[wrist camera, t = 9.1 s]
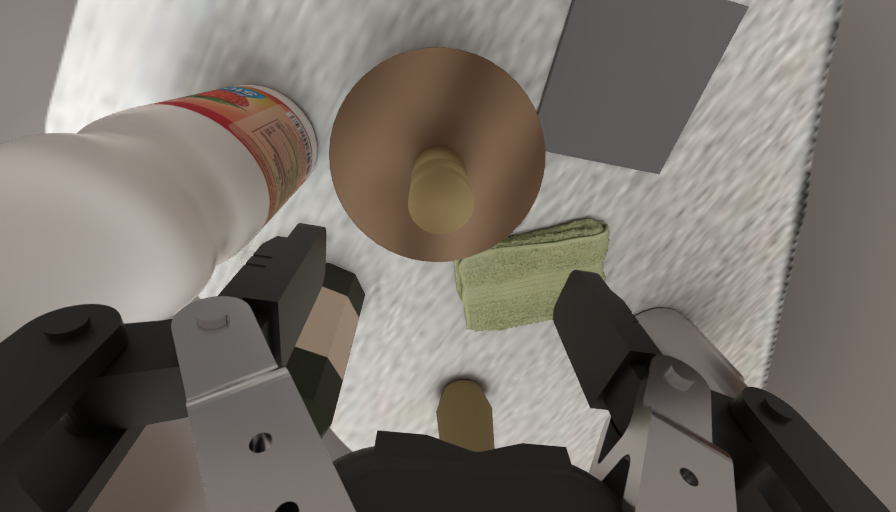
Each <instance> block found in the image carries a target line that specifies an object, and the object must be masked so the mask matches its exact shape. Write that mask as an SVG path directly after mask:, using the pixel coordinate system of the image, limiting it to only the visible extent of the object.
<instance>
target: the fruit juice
mask: <svg viewBox="0 0 896 512" xmlns="http://www.w3.org/2000/svg"><path fill="white" fill-rule="evenodd" d="M316 158H317V142H316V137H315V134H314V131H313V128H312V126H311V124H310V122H309V120H308V119H307V117H306V116H305V114H304V113H303V112H302V111H301V109H300V108H299V107H298V106H297V105H296V104H295V103H293V102H292V101H291V100H290V99H288V98H287V97H286V96H284V95H282V94H280V93H279V92H277V91H275V90H272V89H270V88H267V87H263V86H258V85H236V86H232V87H227V88H222V89H218V90H213V91H209V92H204V93H200V94H195V95H191V96H186V97H182V98H177V99H173V100H168V101H164V102H159V103H155V104H150V105H144V106H138V107H134V108H130V109H126V110H123V111H120V112H117V113H114V114H111V115H108V116H105V117H103V118H100V119H98V120H96V121H94V122H92V123H90V124H88V125H87V126H85V127H84V128H83V129H81V130H80V131H79V132H78V133H77V134H74V133H48V134H37V135H29V136H23V137H19V138H15V139H12V140H8V141H5V142H2V143H0V343H1V342H2V341H3V340H5V339H6V338H7V337H9V336H10V335H11V334H13V333H14V332H15V331H17V330H18V329H19V328H21V327H22V326H23V325H25V324H26V323H28V322H29V321H31V320H33V319H35V318H37V317H39V316H41V315H43V314H46V313H48V312H51V311H54V310H57V309H61V308H64V307H69V306H74V305H81V304H101V305H107V306H110V307H113V308H115V309H116V310H117V311H118V312H119V313H120V315H121V318H122V320H123V323H124V324H125V323H136V322H148V321H159V320H166V319H168V318H169V317H171V316H173V315H174V314H176V313H178V312H179V311H180V310H181V309H182V308H184V307H186V306H187V305H188V304H189V303H190V302H191V301H192V300H193V299H194V298H195V297H196V296H198V295H199V294H200V292H201V291H202V290H203V289H204V287H205V286H206V284H207V283H208V281H209V280H210V278H211V276H212V274H213V272H214V269H215V267H216V265H219V264H221V263H223V262H225V261H227V260H228V259H230V258H231V257H233V256H234V255H236V254H237V253H238V252H239V251H240V250H242V249H243V248H244V247H245V246H246V245H247V244H248V243H249V242H251V241H252V240H253V239H254V238H255V236H256V235H257V234H258V233H259V232H260V231H261V229H262V228H263V227H264V226H265V225H266V224H267V223H268V221H269V220H270V219H271V218H272V217H273V216H274V215H275V214H276V213H277V212H278V210H279V209H280V208H281V207H282V206H283V205H284V204H285V203H286V202H287V201H288V199H289V198H290V197H291V196H292V195H293V194H294V193H295V192H296V191H297V189H298V188H299V187H300V186H301V185H302V184H303V183H304V182H305V181H306V179H307V178H308V177H309V176H310V174H311V172H312V170H313V168H314V165H315V162H316Z"/></svg>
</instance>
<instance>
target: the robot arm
mask: <svg viewBox="0 0 896 512" xmlns="http://www.w3.org/2000/svg"><path fill="white" fill-rule="evenodd" d="M325 263H326V228H325V227H321V226H315V225H309V224H303V223H299V224H297V226H296V227H295V228H294V230H293V231H292V232H291V234H290V235H289V236H288V237H287V238H286V237H280V236H277V237H275V238H273V239H271V240H269V241H267V242H265V243H263V244H262V245H261V246H260V247H259V248H258V249H257V251H256V252H255V253H254V254H253V256H251V258H250V259H249V260H248V261H247V262H246V265H244V266H243V267H242V268H241V269H240V270H239V272H238V273H237V274H236V275H235V276H234V277H233V279H232V280H231V281H230V282H229V283H228V284H227V286H226V287H225V288H224V289H223V290H222V291H221V293H220V294H219V295H218V296H216V297H209V298H205V299H201V300H198V301H195V302H193V303H191V304H189V305H187V306H186V307H184V308H182V309H181V310H180V311H179V312H178V313H177V314H176V315H175V316H174V318H173V319H168V320H159V321H148V322H136V323H125V324H124V323H123V320H122V318H121V315H120V313H119V312H118V311H117V310H116V309H115V308H113V307H110V306H107V305H101V304H81V305H74V306H69V307H64V308H61V309H57V310H54V311H51V312H48V313H46V314H43V315H41V316H39V317H37V318H35V319H33V320H31V321H29V322H28V323H26V324H25V325H23V326H22V327H21V328H19V329H18V330H17V331H15V332H14V333H13V334H11V335H10V336H9V337H7V338H6V339H5V340H3V341H2V342H1V343H0V512H88V510H89V509H90V507H91V506H92V504H93V503H94V501H95V500H96V498H97V497H98V495H99V494H100V492H101V491H102V490H103V488H104V486H105V485H106V484H107V482H108V481H109V479H110V478H111V476H112V475H113V473H114V472H115V470H116V469H117V467H118V466H119V464H120V463H121V461H122V460H123V458H124V457H125V456H126V454H127V453H128V451H129V450H130V448H131V447H132V445H133V444H134V442H135V441H136V440H137V438H138V437H139V435H140V434H141V432H142V430H143V429H144V428H145V426H146V425H148V424H154V423H158V422H164V421H170V420H175V419H180V418H185V417H189V421H190V426H191V431H192V435H193V439H194V445H195V449H196V454H197V459H198V463H199V468H200V473H201V477H202V481H203V487H204V491H205V496H206V501H207V505H208V510H209V512H890V511H889V510H888V509H887V507H886V506H885V505H884V504H883V503H882V502H881V501H880V500H879V499H878V498H877V497H876V496H875V495H874V494H873V492H872V491H871V490H870V489H869V488H868V487H867V486H866V485H865V484H864V483H863V482H862V481H861V480H860V479H859V477H858V476H857V475H856V474H855V473H854V472H853V471H852V470H851V469H850V468H849V467H848V466H847V465H846V464H845V462H844V461H843V460H842V459H841V458H840V457H839V456H838V455H837V454H836V453H835V452H834V451H833V450H832V449H831V448H830V446H828V444H827V443H826V442H825V441H824V440H823V439H822V438H821V437H820V436H819V435H818V434H817V432H816V431H815V430H814V429H813V428H812V427H811V426H810V425H809V424H808V423H807V422H806V421H805V420H804V419H803V418H802V416H801V415H800V414H799V413H797V411H796V410H794V409H793V408H792V407H791V406H790V405H788V404H787V403H785V402H784V401H783V400H781V399H780V398H778V397H776V396H775V395H773V394H771V393H769V392H767V391H765V390H762V389H759V388H755V387H748V386H747V385H746V384H745V383H744V377H743V376H742V375H741V374H740V373H739V371H738V370H737V369H736V368H735V367H734V366H733V365H732V364H731V363H730V362H729V361H728V360H727V359H726V358H725V357H724V355H723V354H722V353H721V352H720V351H719V350H718V349H717V348H716V347H715V346H714V345H713V344H712V343H711V342H710V341H709V340H708V338H707V337H706V336H705V335H704V334H703V333H702V332H701V331H700V330H699V329H698V328H697V327H696V326H695V325H694V324H693V323H692V321H688V320H686V319H685V318H684V317H683V316H682V315H681V314H680V313H679V312H677V311H675V310H672V309H667V308H657V309H652V310H648V311H645V312H642V313H640V314H638V315H636V316H634V314H632V312H631V310H630V309H629V308H628V306H627V305H626V304H625V302H624V301H623V300H622V299H621V298H620V297H618V296H617V295H616V294H615V293H614V292H612V291H611V290H610V289H609V287H608V286H607V284H606V283H605V282H604V280H603V279H602V277H601V276H600V275H599V274H598V273H594V272H588V271H582V270H573V271H572V272H571V273H570V275H569V277H568V279H567V281H566V283H565V285H564V287H563V289H562V291H561V293H560V295H559V297H558V299H557V302H556V304H555V306H554V310H553V321H554V324H555V326H556V329H557V331H558V333H559V336H560V338H561V340H562V343H563V345H564V347H565V350H566V352H567V354H568V357H569V359H570V361H571V364H572V366H573V369H574V371H575V373H576V376H577V378H578V380H579V383H580V385H581V387H582V390H583V392H584V394H585V397H586V399H587V401H588V404H589V406H590V408H596V409H605V410H608V411H609V413H610V415H609V417H608V418H607V419H606V421H605V423H604V426H603V429H602V432H601V436H600V439H599V442H598V445H597V448H596V451H595V455H594V458H593V461H592V464H591V467H590V470H589V473H588V472H586V471H584V470H582V469H580V468H578V467H576V466H574V465H572V464H571V461H570V458H569V455H568V452H567V449H566V447H558V446H547V445H535V444H524V443H521V444H517V445H512V446H507V447H502V448H497V449H492V450H487V451H482V452H474V451H471V450H468V449H465V448H462V447H459V446H457V445H454V444H451V443H448V442H445V441H442V440H440V439H437V438H434V437H431V436H428V435H423V434H411V433H400V432H389V431H377V436H376V441H375V446H373V447H368V448H363V449H360V450H357V451H354V452H351V453H349V454H347V455H344V456H342V457H340V458H338V459H336V460H335V461H333V462H332V461H331V459H330V456H329V454H328V452H327V450H326V448H325V446H324V444H323V442H322V440H321V438H320V435H319V433H318V431H317V429H316V427H315V425H314V423H313V421H312V419H311V417H310V415H309V413H308V410H307V408H306V406H305V404H304V402H303V400H302V398H301V396H300V394H299V392H298V390H297V387H296V385H295V383H294V381H293V379H292V377H291V375H290V373H289V371H288V370H287V368H286V365H287V362H288V360H289V358H290V356H291V354H292V351H293V349H294V347H295V345H296V343H297V341H298V338H299V336H300V334H301V332H302V330H303V328H304V325H305V323H306V321H307V319H308V317H309V315H310V312H311V310H312V308H313V306H314V304H315V302H316V299H317V297H318V295H319V293H320V291H321V288H322V285H323V281H324V276H325Z"/></svg>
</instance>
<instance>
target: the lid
mask: <svg viewBox="0 0 896 512" xmlns="http://www.w3.org/2000/svg"><path fill="white" fill-rule="evenodd" d="M329 160H330V171H331V176H332V181H333V184H334V187H335V190H336V193H337V196H338V198H339V200H340V202H341V204H342V206H343V208H344V209H345V211H346V212H347V214H348V215H349V217H350V218H351V220H352V221H353V222H354V223H355V224H356V226H357V227H358V228H359V229H360V230H361V231H362V232H363V233H364V234H365V235H366V236H368V237H369V238H370V239H372V240H373V241H374V242H376V243H377V244H379V245H380V246H382V247H384V248H385V249H387V250H389V251H391V252H394V253H396V254H398V255H401V256H404V257H407V258H411V259H415V260H421V261H430V262H447V261H454V260H460V259H464V258H468V257H471V256H474V255H477V254H479V253H482V252H484V251H486V250H488V249H490V248H492V247H493V246H495V245H496V244H498V243H499V242H501V241H502V240H504V239H505V238H506V237H507V236H508V235H509V234H511V233H512V232H513V231H514V230H515V229H516V228H517V227H518V225H519V224H520V223H521V222H522V221H523V219H524V218H525V217H526V215H527V214H528V212H529V211H530V209H531V207H532V205H533V204H534V202H535V200H536V197H537V195H538V192H539V190H540V187H541V183H542V179H543V175H544V168H545V142H544V134H543V131H542V127H541V123H540V120H539V117H538V115H537V113H536V110H535V108H534V106H533V104H532V102H531V101H530V99H529V97H528V96H527V94H526V93H525V92H524V90H523V89H522V88H521V87H520V85H519V84H518V83H517V82H516V81H515V80H514V79H513V78H512V77H511V76H510V75H509V74H508V73H507V72H505V71H504V70H503V69H501V68H500V67H498V66H497V65H495V64H494V63H492V62H491V61H489V60H487V59H485V58H482V57H480V56H478V55H476V54H473V53H469V52H466V51H463V50H459V49H452V48H445V47H428V48H422V49H416V50H411V51H408V52H405V53H402V54H399V55H396V56H394V57H392V58H390V59H388V60H386V61H384V62H382V63H380V64H379V65H377V66H376V67H374V68H373V69H372V70H370V71H369V72H367V73H366V74H365V75H364V76H363V77H362V78H361V79H360V80H359V81H358V82H357V83H356V84H355V86H354V87H353V88H352V90H351V91H350V92H349V93H348V95H347V96H346V98H345V100H344V101H343V103H342V105H341V107H340V109H339V111H338V114H337V116H336V119H335V122H334V124H333V129H332V133H331V138H330V149H329Z"/></svg>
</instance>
